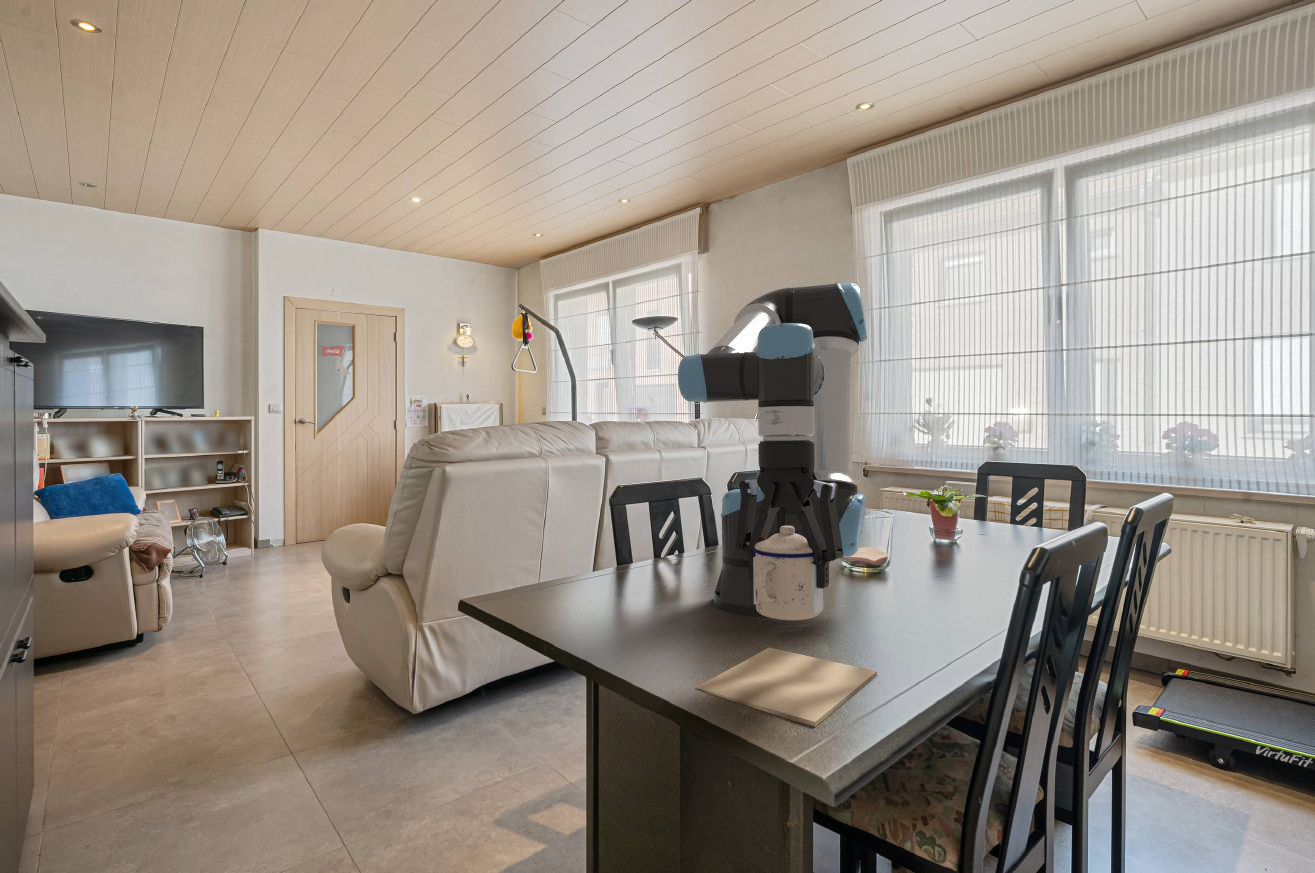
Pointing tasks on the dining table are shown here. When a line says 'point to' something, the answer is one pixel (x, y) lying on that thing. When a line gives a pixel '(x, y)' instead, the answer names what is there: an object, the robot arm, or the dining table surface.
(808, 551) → the teacup with lid
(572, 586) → the dining table surface
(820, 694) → the cork mat
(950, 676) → the dining table surface
